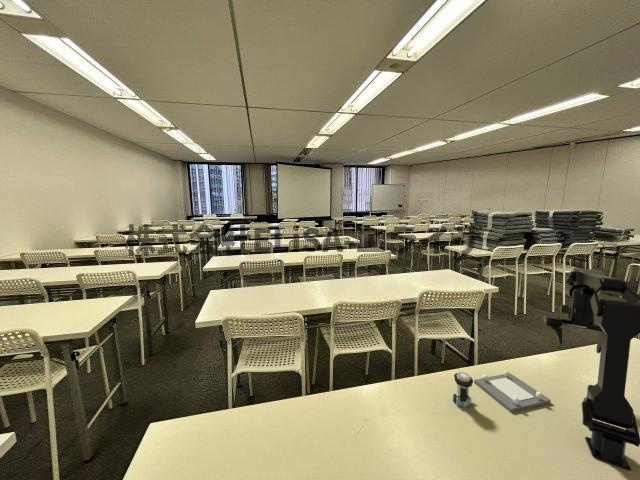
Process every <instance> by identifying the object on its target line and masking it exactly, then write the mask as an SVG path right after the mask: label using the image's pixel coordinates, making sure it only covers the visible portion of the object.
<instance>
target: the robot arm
mask: <svg viewBox="0 0 640 480" xmlns="http://www.w3.org/2000/svg"><path fill="white" fill-rule="evenodd" d="M564 280H565V281H564V282H565V284H566V285H565V286H564V290H565V293H566V294H567V295H568V296H569V297H570V298H571V304H570V306H569V305H567V304H560V305H559V314H564V315H565V317H566V318H567V319H563V318H561V317H560V315H558V314H551V313H547V312H546V313H545V314H543V318H542V320H543V322H544V325H545V326H548V327H549V328H550V329H552V330H554V332H555V335H556V338H557V341H558V344H559V346H562V344H563V328H562V326H568V327H574V328H580V329H586V330H591V331H595V332H596V331H597V332H598V340H597V344H596V350H595V351H596V354H600V355H599V365H598V373H597V375H598V376H597V383H595V384H594V385H593V384H589V385H587V388H586V389H587V390H586V396H585V397H584V398H583V400H582V402H581V412H582V422H581V423H582V425H584V427H586V428H587V429H588V431H589V432H591V435H590V437H588V436H585V437H584V440H585V442H586V445H587V447H588V449H589V451H590V453H591V456H592V457H593V458H595V459H598V460H601V461H602V462H603V461H604V462H606V463H609V464H612V465H615V466H617V467H619V468H622V469H625V470H627V471H631V465H630V464H629V462H628V461H627V459H626V457H625V453H626V447H627V444H630V445H633V446H636V447H638V448H639V447H640V433H639V431H640V430H639V428H638V424H637V419H636V415H635V413H634V408H633V407H632V405H631V404H630V402H629V401H628V399H627V397H626V396H625V393H626V386H627V384H626V383H627V376H628V367H629V361H630V360H629V358H630V350H631V343H632V342H631V341H632V340H633V339H634V338H636V337H637V336H638V335H640V296H639V295H638V294H637V293H636V292H635V291H632V290H631V289H630V288H629V286H628V283H627V281H626V280H625V279H622V278H617V277H616V278H615V277H612V276H607V275H606V274H605V272H604V271H602V270H600V269H593V268H592V269H591V268H590V269H589V268H580V267H579V268H577V267H574V268H573V269H572V270H570V271H569V273H568V274H567V276H566V278H565V279H564ZM600 293H611V294H618V295H619V296H620V297H621V298H622V299H624V300H625V301H622V300H612V299H605V298H600V299H599V295H600ZM595 322H596V323H597V324H595Z"/></svg>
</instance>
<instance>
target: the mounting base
mask: <svg viewBox="0 0 640 480" xmlns="http://www.w3.org/2000/svg"><path fill="white" fill-rule="evenodd" d="M473 384H475V385H476V386H477V387H479V388H480V389H481V390H482V391H484V392H485V393H486V394H487V395H488V396H490V397H491V398H492V399H494V400H495V402H497V403H498V404H500V405H501V406H502V407H503V408H505V410H507V411H508V412H509V413H515V412H519V411H523V410H527V409H531V408H538V407H539V406H543V405H549V404H551V401H552V399H550V398H549V397H547V396H546V395H544V394H543V393H542V392H541V391H538V390H537V389H535V388H534V387H532V386H530V385H529V384H527V383H525V381H523V380H521V379H520V378H518V377H517V376H515V375H514V374H513V373H511V372H509V371H508V370H505V369H504V370H503V374H497V375H492V376H488V375H487V374H482V378H477V379H474V380H473Z"/></svg>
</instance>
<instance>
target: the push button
mask: <svg viewBox="0 0 640 480" xmlns="http://www.w3.org/2000/svg"><path fill="white" fill-rule="evenodd" d="M453 377H454V381H455V383H456V393H453V397H452V401H453V402H454V404H455V405H456V407H464V408H466V407H468V406H471V403H475V398H474V397H471V396H470V391H469V390H470V387H472V386H473V384H474V380H473V377H472V376H470V375H469V373H466V372H465V371H458V372H456V373H454V375H453Z"/></svg>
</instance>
